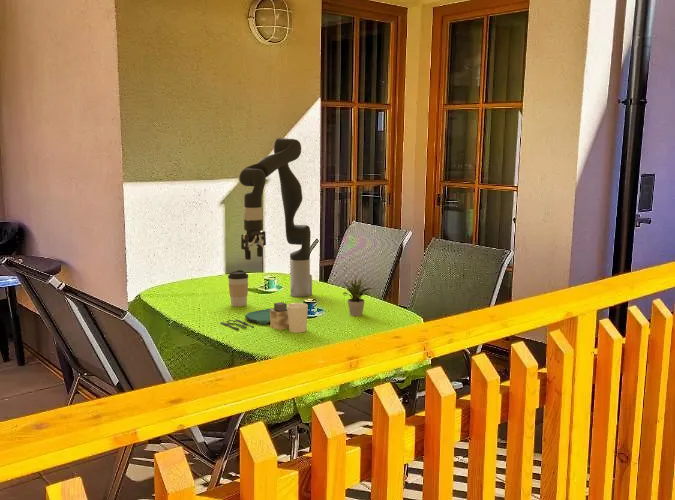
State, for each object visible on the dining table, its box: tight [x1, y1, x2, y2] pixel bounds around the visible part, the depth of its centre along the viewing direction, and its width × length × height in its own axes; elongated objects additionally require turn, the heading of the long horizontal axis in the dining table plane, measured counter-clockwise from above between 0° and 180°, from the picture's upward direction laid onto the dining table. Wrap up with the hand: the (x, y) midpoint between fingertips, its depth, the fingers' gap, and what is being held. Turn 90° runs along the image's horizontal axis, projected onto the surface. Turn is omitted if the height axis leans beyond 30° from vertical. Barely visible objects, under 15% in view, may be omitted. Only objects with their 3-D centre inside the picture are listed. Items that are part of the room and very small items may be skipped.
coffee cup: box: [227, 269, 249, 307], centre depth 310 cm, size 9×9×15 cm
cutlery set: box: [220, 307, 274, 331], centre depth 285 cm, size 20×30×2 cm, turn 126°
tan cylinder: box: [287, 302, 309, 334], centre depth 269 cm, size 8×8×10 cm
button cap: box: [273, 301, 288, 311], centre depth 274 cm, size 4×4×2 cm
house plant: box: [341, 277, 374, 317], centre depth 291 cm, size 14×14×16 cm
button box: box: [269, 309, 289, 331], centre depth 274 cm, size 6×6×7 cm
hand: (254, 258), depth 285 cm, fingers open, 8 cm apart
